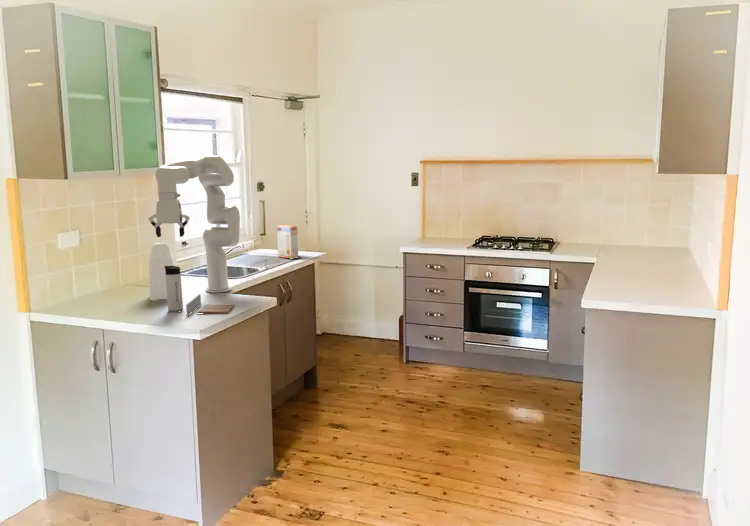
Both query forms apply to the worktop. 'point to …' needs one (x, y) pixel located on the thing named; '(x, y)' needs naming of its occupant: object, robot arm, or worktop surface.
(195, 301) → the acrylic wall
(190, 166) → the robot arm
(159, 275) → the milk
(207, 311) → the walnut board
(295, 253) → the cracker box
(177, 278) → the travel mug
